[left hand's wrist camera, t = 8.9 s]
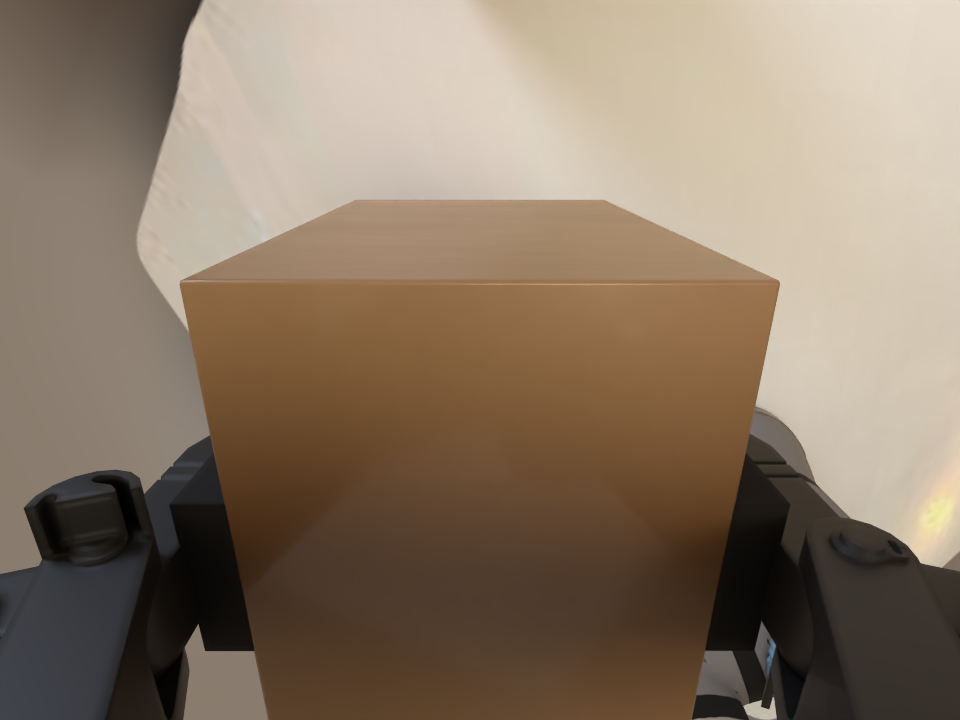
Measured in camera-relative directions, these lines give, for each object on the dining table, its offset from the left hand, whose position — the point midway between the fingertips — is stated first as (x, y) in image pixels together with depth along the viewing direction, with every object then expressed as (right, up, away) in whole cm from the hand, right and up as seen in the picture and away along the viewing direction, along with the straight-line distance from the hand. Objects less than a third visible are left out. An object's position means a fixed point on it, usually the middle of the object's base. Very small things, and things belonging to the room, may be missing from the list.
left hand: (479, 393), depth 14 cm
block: (0, +1, +3) cm, 3 cm away
